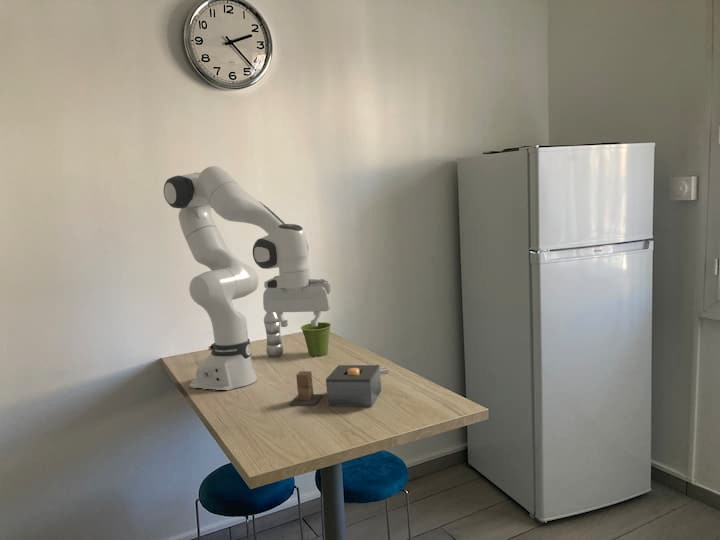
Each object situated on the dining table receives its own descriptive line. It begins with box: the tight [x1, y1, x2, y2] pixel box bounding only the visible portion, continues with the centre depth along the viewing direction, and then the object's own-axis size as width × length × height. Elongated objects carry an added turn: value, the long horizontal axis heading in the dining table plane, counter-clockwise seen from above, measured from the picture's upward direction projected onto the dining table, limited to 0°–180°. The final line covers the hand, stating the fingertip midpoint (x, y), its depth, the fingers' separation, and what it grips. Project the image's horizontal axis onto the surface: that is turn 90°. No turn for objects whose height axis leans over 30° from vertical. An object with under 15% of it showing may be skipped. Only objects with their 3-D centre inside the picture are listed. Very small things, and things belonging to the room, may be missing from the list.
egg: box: [347, 368, 360, 375], centre depth 168 cm, size 4×4×6 cm
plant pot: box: [300, 321, 332, 357], centre depth 218 cm, size 12×12×11 cm
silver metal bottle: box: [263, 312, 284, 358], centre depth 220 cm, size 6×7×20 cm
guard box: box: [325, 364, 382, 408], centre depth 168 cm, size 13×13×8 cm
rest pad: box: [288, 393, 324, 407], centre depth 170 cm, size 8×8×1 cm
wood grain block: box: [295, 370, 314, 401], centre depth 169 cm, size 4×4×8 cm
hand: (299, 326), depth 167 cm, fingers open, 8 cm apart
